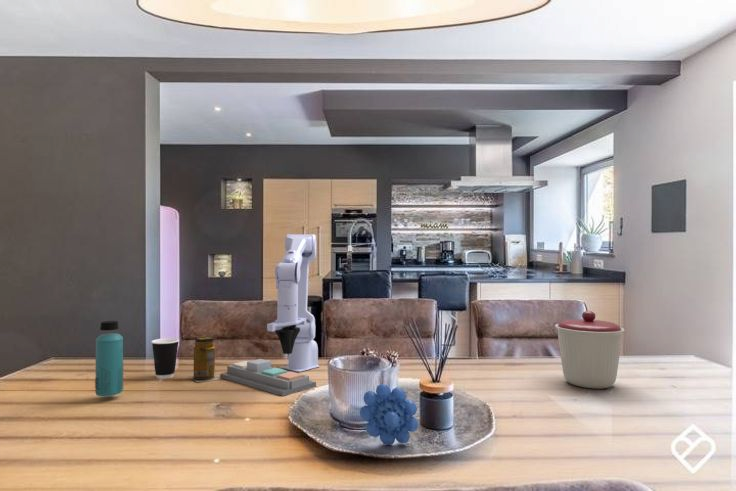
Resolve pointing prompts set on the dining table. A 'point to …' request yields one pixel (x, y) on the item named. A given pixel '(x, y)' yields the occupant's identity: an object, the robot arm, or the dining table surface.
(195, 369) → the condiment
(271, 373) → the teal key
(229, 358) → the dining table surface
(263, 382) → the keypad
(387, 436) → the blue flower
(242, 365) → the cream key
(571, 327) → the canister
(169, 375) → the dixie cup
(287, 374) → the terracotta key
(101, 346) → the beverage bottle
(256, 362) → the slate key
